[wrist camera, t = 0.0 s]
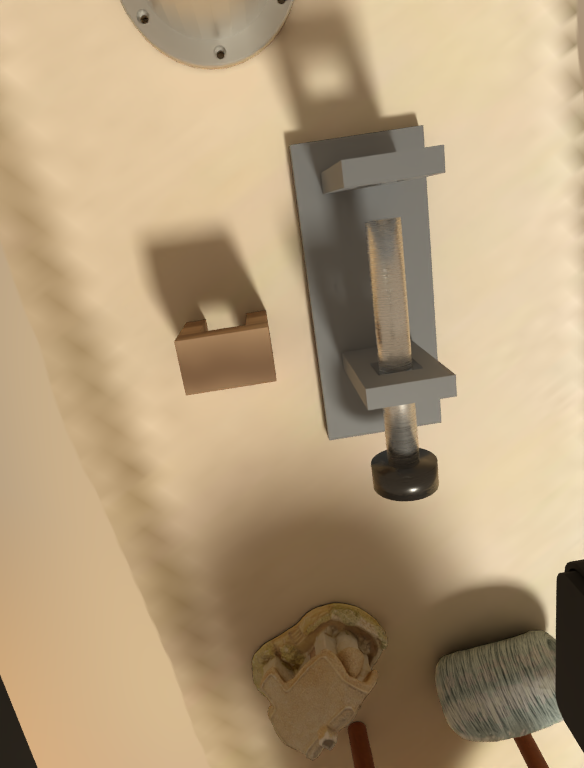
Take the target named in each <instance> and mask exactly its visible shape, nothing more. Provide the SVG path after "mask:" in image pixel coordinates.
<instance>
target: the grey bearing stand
mask: <svg viewBox="0 0 584 768" xmlns="http://www.w3.org/2000/svg"><path fill="white" fill-rule="evenodd" d="M289 149H290V157H291V164H292V172H293V179H294V186H295V194H296V201H297V209H298V216H299V224H300V231H301V239H302V246H303V254H304V261H305V269H306V276H307V283H308V291H309V298H310V306H311V313H312V321H313V328H314V336H315V343H316V351H317V358H318V366H319V373H320V380H321V388H322V395H323V403H324V410H325V418H326V425H327V433H328V438H329V440H335V439H341V438H347V437H353V436H360V435H366V434H372V433H378V432H385V426H384V416H383V408H386V407H393V406H399V405H405V404H411V403H415V406H416V419H417V426H422V425H428V424H434V423H441V408H440V399H443V398H449V397H455V396H457V391H456V375H455V374H454V373H453V372H451V371H450V370H449V369H448V368H446V367H445V366H444V365H443V364H441V363H440V362H439V361H438V359H437V343H436V327H435V310H434V294H433V278H432V262H431V245H430V229H429V213H428V197H427V181H426V177H428V176H432V175H436V174H441V173H445V156H444V145H439V146H432V147H425V148H424V132H423V125H421V126H415V127H408V128H401V129H394V130H388V131H381V132H374V133H368V134H361V135H354V136H348V137H341V138H334V139H327V140H321V141H314V142H307V143H301V144H294V145H290V146H289ZM393 217H401V225H402V238H403V251H404V264H405V276H406V289H407V302H408V315H409V328H410V341H411V354H412V367H413V370H410V371H403V372H397V373H391V374H384V375H379V365H378V354H377V344H376V334H375V324H374V313H373V303H372V293H371V283H370V272H369V262H368V252H367V242H366V231H365V222H367V221H372V220H379V219H385V218H393Z"/></svg>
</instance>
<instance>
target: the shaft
mask: <svg viewBox="0 0 584 768" xmlns="http://www.w3.org/2000/svg"><path fill="white" fill-rule="evenodd" d="M365 231H366V242H367V252H368V262H369V272H370V283H371V293H372V303H373V313H374V324H375V334H376V344H377V354H378V365H379V375H384V374H391V373H397V372H403V371H410V370H413V367H412V354H411V341H410V328H409V315H408V302H407V289H406V276H405V264H404V251H403V238H402V225H401V217H393V218H385V219H379V220H372V221H367V222H365ZM383 416H384V426H385V436H386V447H387V450H385V451H383V452H381V453H379V454H377V455H376V456H375V457H374V458H373V459H372V461H371V467H372V476H373V485H374V490H375V491H376V492H377V493H378V494H379V495H380V496H382V497H384V498H387V499H390V500H395V501H414V500H419V499H423V498H426V497H428V496H430V495H432V494H433V493H434V492H435V491H436V490H437V489H438V486H439V479H438V464H437V458H436V456H435V455H434V454H433V453H431V452H430V451H427V450H425V449H421V448H419V445H418V432H417V419H416V406H415V403H411V404H405V405H399V406H393V407H386V408H383Z"/></svg>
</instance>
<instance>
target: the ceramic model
mask: <svg viewBox="0 0 584 768" xmlns="http://www.w3.org/2000/svg"><path fill="white" fill-rule="evenodd" d="M387 646H388V639H387V637H386V633H385V631H384V630H383V628H382V627H381V626H380V625H379V623H378V622H377V621H376V619H374V618H373V617H372V616H371V615H369V614H368V613H366V612H365V611H364V610H362V609H360V608H358V607H356V606H352V605H347V604H342V603H332V604H328V605H325V606H322V607H317V608H315V609H313V610H311V611H310V612H308V613H307V614H306V615H305V616H304V617H303V618H302V619H301V620H300V621H299V623H298V624H297V625H295V626H294V627H292V628H290V629H288V630H287V631H286V632H284V633H283V634H281V635H279V636H278V637H276V638H274V639H273V640H270V641H269V642H267V643H265V644H264V645H263V646H262V647H261V648H260V649H259V650H258V651H257V652H256V653H255V654H254V657H253V659H252V666H253V667H252V670H253V675H252V676H253V681H254V684H255V685H256V687H257V689H258V691H260V692H261V693H262V694H263V695H264V696H266V697H267V699H268V700H269V701H270V703H271V706H270V707H269V708H268V711H267V712H268V717H269V719H270V721H271V723H272V725H273V727H274V729H275V731H276V733H277V735H278V736H279V738H280V739H281V740H282V741H283V743H284V744H286V745H287V746H289V747H291V748H293V749H295V750H297V751H300V752H302V753H303V754H304V755H306V758H308V759H310V760H312V761H313V760H315V759H316V758H318V756H319V755H320V754H321V752H322V751H323V749H324V748H326V749H328V750H331V749H332V748H333V747H334V746H335V744H336V743H337V732H338V731H340V730H341V729H342V728H344V727H347V726H348V725H349V724H350V723H351V722H352V721H353V720H354V718H355V716H356V713H357V712H358V710H359V708H360V707H361V704H362V702H363V701H364V699H365V698H366V696H367V695H368V694H369V693H370V691H371V690H372V689H373V687H374V686H375V685H376V681H377V679H378V672H377V671H376V670H372V666H373V665H374V664H375V663H376V662H377V660H378V658H379V657H380V655H381V653H382V650H383V649H385V648H386V647H387ZM371 670H372V671H371Z"/></svg>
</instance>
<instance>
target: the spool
mask: <svg viewBox="0 0 584 768" xmlns="http://www.w3.org/2000/svg"><path fill="white" fill-rule="evenodd" d="M555 674H556V640H555V639H554V638H553V637H552V636H551V635H549V634H548V633H546V632H544V631H543V630H535V631H528V632H527V633H525V634H522V635H519V636H516V637H513V638H509V639H505V640H501V641H498V642H494V643H490V644H487V645H482V646H478V647H474V648H470V649H467V650H464V651H457V652H455V653H453V654H449V655H445V656H443V657H442V658H441V659H440V660H439V662H438V664H437V666H436V673H435V683H436V688H437V693H438V697H439V700H440V702H441V705H442V709H443V712H444V715H445V718H446V720H447V723H448V724H449V726H450V727H451V729H452V730H454V731H455V732H456V733H457V734H458V735H459V736H460V737H462V738H463V739H467V740H470V741H477V742H494V741H500V740H505V739H510V738H515V737H521V736H524V735H527V734H530V733H533V732H536V731H539V730H541V729H544V728H547V727H549V726H551V725H553V724H555V723H559V722H561V721H563V720H564V719H563V718H562V716H561V713H560V711H559V708H558V705H557V701H556V696H555Z"/></svg>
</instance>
